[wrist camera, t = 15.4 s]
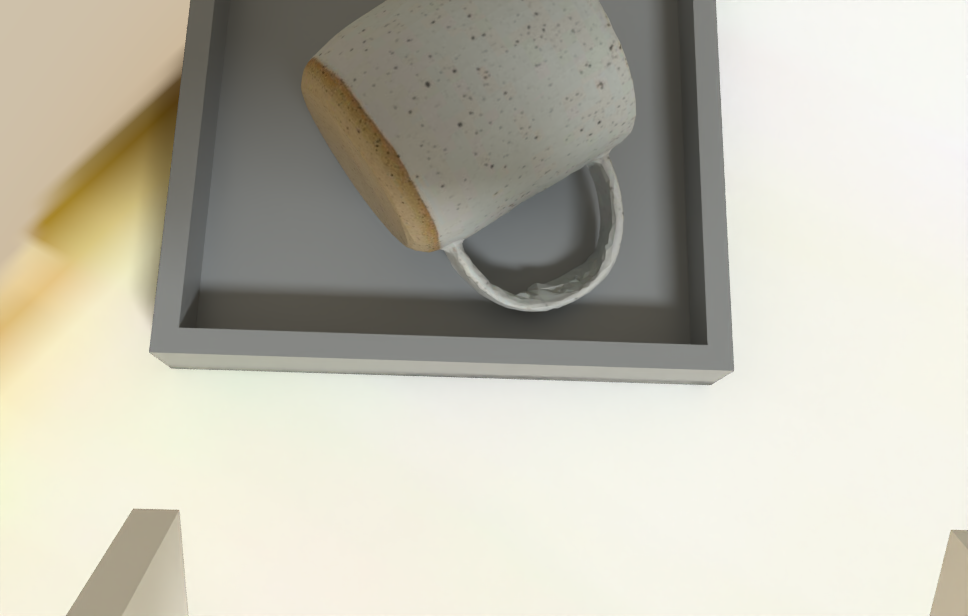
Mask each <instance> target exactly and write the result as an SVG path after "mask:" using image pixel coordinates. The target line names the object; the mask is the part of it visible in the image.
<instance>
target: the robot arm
mask: <svg viewBox="0 0 968 616" xmlns="http://www.w3.org/2000/svg"><path fill="white" fill-rule="evenodd" d="M66 616H188V606H187V594H186V582H185V571H184V559H183V548H182V536H181V524H180V513H179V510H160V509H133V510H132V511H131V513H130V515H129V516H128V518H127V519H126V521H125V523H124V524H123V526H122V527H121V529H120V531H119V532H118V534H117V535H116V537H115V539H114V540H113V542H112V543H111V545H110V547H109V548H108V550H107V551H106V553H105V555H104V556H103V558H102V559H101V561H100V562H99V564H98V566H97V567H96V569H95V570H94V572H93V574H92V575H91V577H90V578H89V580H88V582H87V583H86V585H85V586H84V588H83V590H82V591H81V593H80V594H79V596H78V598H77V599H76V601H75V602H74V604H73V606H72V607H71V609H70V610H69V612H68V613H67V615H66ZM930 616H968V530H951V532H950V536H949V540H948V544H947V548H946V552H945V556H944V560H943V564H942V568H941V572H940V576H939V580H938V584H937V588H936V592H935V596H934V600H933V604H932V608H931V612H930Z"/></svg>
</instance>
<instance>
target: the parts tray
mask: <svg viewBox="0 0 968 616" xmlns="http://www.w3.org/2000/svg"><path fill="white" fill-rule="evenodd" d="M385 1H386V0H191V1H190V9H189V18H188V26H187V35H186V43H185V52H184V60H183V69H182V77H181V86H180V94H179V103H178V111H177V119H176V128H175V136H174V145H173V153H172V162H171V170H170V179H169V187H168V196H167V204H166V213H165V221H164V230H163V238H162V247H161V255H160V264H159V272H158V281H157V289H156V298H155V306H154V315H153V323H152V332H151V340H150V349H149V353H151V354H152V355H154V356H155V357H156V358H158V359H159V360H161V361H162V362H163V363H165V364H166V365H168V366H169V367H170V368H177V369H209V370H242V371H274V372H306V373H338V374H371V375H403V376H435V377H468V378H500V379H532V380H564V381H597V382H629V383H661V384H694V385H712V384H713V383H715V382H717V381H718V380H720V379H722V378H723V377H725V376H726V375H728V374H730V373H731V372H733V371H734V361H733V341H732V320H731V300H730V280H729V260H728V239H727V219H726V199H725V179H724V158H723V138H722V118H721V98H720V77H719V57H718V37H717V17H716V0H599V2H600V4H601V6H602V8H603V9H604V11H605V13H606V15H607V16H608V18H609V20H610V23H611V25H612V28H613V30H614V32H615V34H616V36H617V38H618V39H619V41H620V43H621V46H622V49H623V51H624V54H625V57H626V60H627V63H628V66H629V70H630V73H631V77H632V79H633V85H634V93H635V99H636V118H635V122H634V126H633V129H632V131H631V133H630V134H629V135H628V136H627V137H626V138H625V139H624V140H623V141H622V142H621V143H619V144H618V145H616V146H615V147H614V148H612V150H611V151H610V153H609V158H610V159H611V161H612V165H613V168H614V171H615V173H616V176H617V179H618V183H619V187H620V191H621V196H622V205H623V214H624V222H623V235H622V240H621V245H620V250H619V253H618V256H617V258H616V261H615V263H614V265H613V267H612V269H611V270H610V272H609V274H608V275H607V276H606V277H605V278H604V279H603V280H602V281H601V282H600V283H599V284H598V285H597V286H596V287H595V288H594V289H593V290H592V291H591V292H589V293H588V294H586V295H584V296H582V297H581V298H579V299H577V300H575V301H574V302H572V303H569V304H567V305H564V306H562V307H560V308H554V309H551V310H548V311H536V312H531V311H520V310H515V309H510V308H506V307H504V306H501V305H499V304H497V303H495V302H493V301H491V300H489V299H488V298H486V297H484V296H482V295H481V294H479V293H478V292H477V291H476V290H475V289H474V288H473V287H472V286H471V285H470V284H469V283H468V282H467V281H465V280H464V279H463V278H462V277H461V276H460V275H459V274H458V273H457V271H456V270H455V269H454V268H453V266H452V264H451V262H450V260H449V259H448V257H447V255H446V253H445V252H444V250H442V249H441V250H437V251H433V252H422V251H415V250H413V249H410V248H408V247H406V246H404V245H403V244H402V243H401V242H400V241H399V240H398V239H397V238H396V237H394V236H393V235H392V234H391V232H390V231H389V230H388V229H387V228H386V227H385V225H384V224H383V223H382V222H381V221H380V219H379V218H378V217H377V216H376V214H375V213H374V212H373V211H372V209H371V208H370V207H369V205H368V204H367V203H366V201H365V200H364V199H363V197H362V196H361V195H360V193H359V192H358V190H357V189H356V188H355V186H354V185H353V183H352V182H351V180H350V179H349V177H348V176H347V174H346V173H345V171H344V170H343V168H342V167H341V165H340V164H339V162H338V160H337V159H336V157H335V156H334V154H333V153H332V151H331V149H330V148H329V146H328V144H327V143H326V141H325V139H324V138H323V136H322V134H321V133H320V131H319V129H318V127H317V125H316V124H315V122H314V120H313V118H312V116H311V114H310V112H309V110H308V108H307V106H306V103H305V100H304V97H303V94H302V90H301V82H302V75H303V71H304V68H305V66H306V65H307V63H308V62H309V60H310V59H311V58H312V57H313V56H314V55H315V54H316V53H317V52H318V51H319V50H320V49H321V48H322V47H323V46H324V45H325V44H326V43H327V42H329V41H330V40H331V39H332V38H333V37H334V36H335V35H336V34H338V33H339V32H340V31H341V30H343V29H344V28H345V27H347V26H348V25H349V24H351V23H352V22H354V21H355V20H357V19H358V18H360V17H361V16H363V15H365V14H366V13H368V12H369V11H371V10H372V9H374V8H375V7H377V6H379V5H380V4H382V3H383V2H385ZM600 220H601V218H600V211H599V203H598V196H597V192H596V189H595V185H594V181H593V179H592V176H591V174H590V171H589V168H588V167H587V165H585V166H583V167H582V168H581V169H579V170H577V171H575V172H573V173H571V174H570V175H569V176H567V177H566V178H564V179H563V180H561V181H559V182H557V183H556V184H554V185H552V186H550V187H549V188H547V189H546V190H544V191H542V192H540V193H537V194H536V195H534V196H533V197H531V198H529V199H527V200H526V201H524V202H522V203H521V204H519V205H517V206H516V207H514V208H513V209H512V210H511V211H510V212H509V213H507V214H505V215H503V216H501V217H500V218H498V219H497V220H495V221H494V222H492V223H490V224H489V225H487V226H486V227H484V228H483V229H481V230H480V231H478V232H477V233H475V234H473V235H472V236H470V237H468V238H467V239H465V240H464V241H463V243H462V245H463V248H464V252H465V253H466V254H467V255H468V256H469V257H470V259H471V261H472V263H473V264H474V265H475V266H476V267H477V269H478V270H479V271H480V272H481V273H482V274H483V275H484V276H485V277H486V278H487V279H488V280H489V282H490V283H491V284H493V285H495V286H498V287H499V288H501V289H503V290H505V291H507V292H509V293H512V294H514V295H516V294H518V293H520V292H526V291H527V289H528V288H529V287H530V286H531V285H532V284H535V283H540V284H545V283H547V282H549V281H552V280H554V279H556V278H558V277H561V276H562V275H564V274H565V273H567V272H569V271H571V270H572V269H574V268H576V267H578V266H580V265H582V264H583V263H585V262H586V260H587V258H588V257H589V256H590V255H591V254H592V253H593V252H594V250H595V248H596V246H597V242H598V238H599V232H600Z"/></svg>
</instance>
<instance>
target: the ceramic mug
mask: <svg viewBox="0 0 968 616" xmlns="http://www.w3.org/2000/svg"><path fill="white" fill-rule="evenodd" d="M301 90H302V94H303V97H304V100H305V103H306V106H307V108H308V110H309V112H310V114H311V116H312V118H313V120H314V122H315V124H316V125H317V127H318V129H319V131H320V133H321V134H322V136H323V138H324V139H325V141H326V143H327V144H328V146H329V148H330V149H331V151H332V153H333V154H334V156H335V157H336V159H337V160H338V162H339V164H340V165H341V167H342V168H343V170H344V171H345V173H346V174H347V176H348V177H349V179H350V180H351V182H352V183H353V185H354V186H355V188H356V189H357V190H358V192H359V193H360V195H361V196H362V197H363V199H364V200H365V201H366V203H367V204H368V205H369V207H370V208H371V209H372V211H373V212H374V213H375V214H376V216H377V217H378V218H379V219H380V221H381V222H382V223H383V224H384V225H385V227H386V228H387V229H388V230H389V231H390V232H391V234H392V235H393V236H394V237H396V238H397V239H398V240H399V241H400V242H401V243H402V244H403V245H404V246H406V247H408V248H410V249H413V250H415V251H422V252H433V251H437V250H441V249H442V250H444V252H445V253H446V255H447V257H448V259H449V260H450V262H451V264H452V266H453V268H454V269H455V270H456V271H457V273H458V274H459V275H460V276H461V277H462V278H463V279H464V280H465V281H467V282H468V283H469V284H470V285H471V286H472V287H473V288H474V289H475V290H476V291H477V292H478V293H479V294H481V295H482V296H484V297H486V298H488V299H489V300H491V301H493V302H495V303H497V304H499V305H501V306H504V307H506V308H510V309H515V310H520V311H531V312H536V311H548V310H551V309H554V308H560V307H562V306H564V305H567V304H569V303H572V302H574V301H575V300H577V299H579V298H581V297H582V296H584V295H586V294H588V293H589V292H591V291H592V290H593V289H594V288H595V287H596V286H597V285H598V284H599V283H600V282H601V281H602V280H603V279H604V278H605V277H606V276H607V275H608V274H609V272H610V270H611V269H612V267H613V265H614V263H615V261H616V258H617V256H618V253H619V250H620V245H621V240H622V235H623V222H624V214H623V205H622V196H621V191H620V187H619V183H618V179H617V176H616V173H615V171H614V168H613V165H612V161H611V159H610V158H609V153H610V151H611V150H612V148H614V147H615V146H616V145H618V144H619V143H621V142H622V141H623V140H624V139H625V138H626V137H627V136H628V135H629V134H630V133H631V131H632V129H633V126H634V122H635V118H636V99H635V93H634V85H633V79H632V77H631V73H630V70H629V66H628V63H627V60H626V57H625V54H624V51H623V49H622V46H621V43H620V41H619V39H618V38H617V36H616V34H615V32H614V30H613V28H612V25H611V23H610V20H609V18H608V16H607V15H606V13H605V11H604V9H603V8H602V6H601V4H600V2H599V0H386V1H385V2H383V3H382V4H380V5H379V6H377V7H375V8H374V9H372V10H371V11H369V12H368V13H366V14H365V15H363V16H361V17H360V18H358V19H357V20H355V21H354V22H352V23H351V24H349V25H348V26H347V27H345V28H344V29H343V30H341V31H340V32H339V33H338V34H336V35H335V36H334V37H333V38H332V39H331V40H330V41H329V42H327V43H326V44H325V45H324V46H323V47H322V48H321V49H320V50H319V51H318V52H317V53H316V54H315V55H314V56H313V57H312V58H311V59H310V60H309V62H308V63H307V65H306V66H305V68H304V71H303V75H302V82H301ZM585 165H587V167H588V168H589V171H590V174H591V176H592V179H593V181H594V185H595V189H596V192H597V196H598V203H599V211H600V218H601V220H600V232H599V238H598V242H597V246H596V248H595V250H594V252H593V253H592V254H591V255H590V256H589V257H588V258H587V260H586V262H585V263H583V264H582V265H580V266H578V267H576V268H574V269H572V270H571V271H569V272H567V273H565V274H564V275H562V276H561V277H558V278H556V279H554V280H552V281H549V282H547V283H545V284H540V283H535V284H532V285H531V286H530V287H529V288H528V289H527V291H526V292H520V293H518V294H516V295H514V294H512V293H509V292H507V291H505V290H503V289H501V288H499V287H498V286H495V285H493V284H491V283H490V282H489V280H488V279H487V278H486V277H485V276H484V275H483V274H482V273H481V272H480V271H479V270H478V269H477V267H476V266H475V265H474V264H473V263H472V261H471V259H470V257H469V256H468V255H467V254H466V253H465V252H464V248H463V245H462V243H463V241H464V240H465V239H467V238H468V237H470V236H472V235H473V234H475V233H477V232H478V231H480V230H481V229H483V228H484V227H486V226H487V225H489V224H490V223H492V222H494V221H495V220H497V219H498V218H500V217H501V216H503V215H505V214H507V213H509V212H510V211H511V210H512V209H513V208H514V207H516V206H517V205H519V204H521V203H522V202H524V201H526V200H527V199H529V198H531V197H533V196H534V195H536V194H537V193H540V192H542V191H544V190H546V189H547V188H549V187H550V186H552V185H554V184H556V183H557V182H559V181H561V180H563V179H564V178H566V177H567V176H569V175H570V174H571V173H573V172H575V171H577V170H579V169H581V168H582V167H583V166H585Z"/></svg>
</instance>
